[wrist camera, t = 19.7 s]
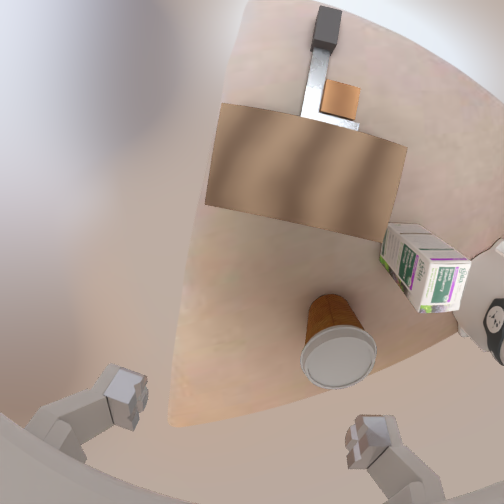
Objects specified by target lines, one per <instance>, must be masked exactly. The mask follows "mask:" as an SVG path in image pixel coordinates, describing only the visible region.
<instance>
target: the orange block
mask: <svg viewBox="0 0 504 504" xmlns="http://www.w3.org/2000/svg"><path fill="white" fill-rule="evenodd" d="M359 94H360V88H358V87H354V86H351V85H347V84H344V83H340V82H336V81H332V80H328V79H327V80H326V81H325V83H324V88H323V94H322V99H321V104H320V109H319V113H323V114H327V115H331V116H335V117H338V118H342V119H346V120H349V121H353V120H355V116H356V111H357V105H358V100H359Z"/></svg>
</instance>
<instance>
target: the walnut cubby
mask: <svg viewBox="0 0 504 504" xmlns="http://www.w3.org/2000/svg"><path fill="white" fill-rule="evenodd" d="M407 148H408V147H405V146H402V145H399V144H396V143H394V142H391V141H388V140H385V139H382V138H378V137H375V136H372V135H369V134H366V133H362V132H359V131H356V130H352V129H349V128H345V127H341V126H338V125H334V124H330V123H326V122H322V121H318V120H314V119H309V118H305V117H300V116H296V115H291V114H286V113H281V112H276V111H271V110H265V109H259V108H253V107H247V106H241V105H234V104H226V103H222V104H221V109H220V115H219V120H218V126H217V131H216V137H215V142H214V148H213V154H212V160H211V166H210V173H209V179H208V185H207V192H206V199H205V205H210V206H215V207H220V208H225V209H230V210H235V211H241V212H246V213H250V214H255V215H260V216H265V217H270V218H275V219H279V220H284V221H289V222H293V223H298V224H303V225H307V226H312V227H316V228H320V229H325V230H329V231H334V232H338V233H342V234H346V235H351V236H355V237H359V238H363V239H367V240H372V241H376V242H380V243H382V242H383V239H384V236H385V233H386V229H387V226H388V223H389V219H390V216H391V212H392V209H393V205H394V202H395V198H396V194H397V190H398V186H399V183H400V178H401V174H402V170H403V166H404V162H405V157H406V153H407Z"/></svg>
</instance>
